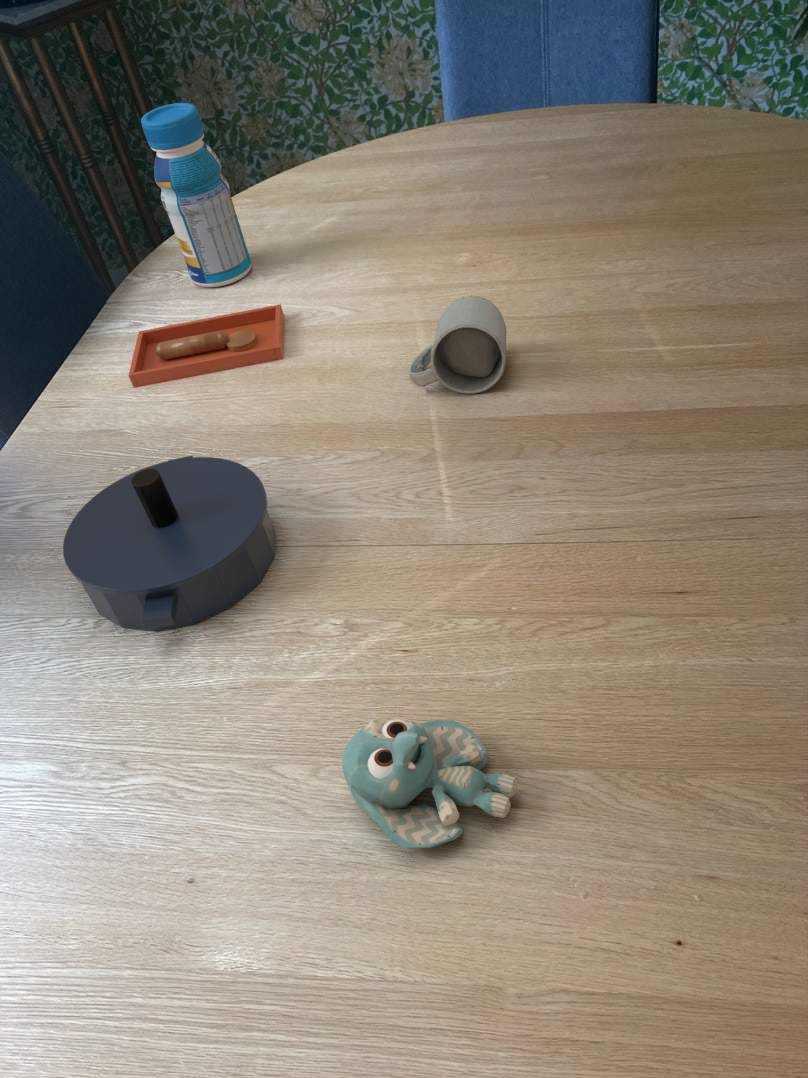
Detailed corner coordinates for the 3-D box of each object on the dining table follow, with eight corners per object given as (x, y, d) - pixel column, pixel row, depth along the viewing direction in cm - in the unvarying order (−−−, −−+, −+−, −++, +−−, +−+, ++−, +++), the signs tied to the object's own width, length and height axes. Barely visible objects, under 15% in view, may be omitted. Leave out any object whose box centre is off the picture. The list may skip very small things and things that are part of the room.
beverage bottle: (235, 290, 129) (180, 125, 115) (179, 289, 132) (118, 127, 117) (265, 259, 134) (216, 97, 120) (210, 258, 137) (156, 99, 123)
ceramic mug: (510, 348, 110) (500, 282, 104) (510, 390, 104) (500, 322, 99) (415, 361, 111) (400, 296, 106) (409, 403, 105) (393, 336, 100)
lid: (52, 618, 82) (20, 567, 78) (84, 488, 95) (58, 437, 91) (267, 577, 82) (246, 523, 78) (271, 451, 95) (253, 399, 90)
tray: (135, 391, 115) (128, 375, 113) (145, 346, 122) (138, 331, 120) (284, 363, 114) (279, 346, 113) (285, 320, 122) (280, 303, 120)
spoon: (157, 368, 117) (151, 352, 115) (160, 352, 119) (154, 337, 118) (257, 348, 116) (252, 333, 115) (258, 333, 119) (253, 318, 118)
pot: (75, 673, 84) (49, 631, 80) (111, 509, 99) (90, 468, 96) (274, 636, 84) (257, 592, 80) (279, 477, 99) (264, 435, 96)
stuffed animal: (494, 834, 61) (308, 781, 63) (488, 890, 66) (317, 840, 68) (538, 699, 68) (369, 655, 70) (530, 760, 73) (373, 717, 75)
